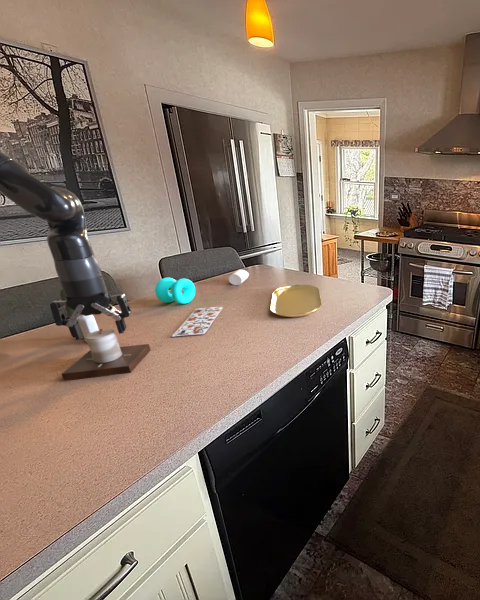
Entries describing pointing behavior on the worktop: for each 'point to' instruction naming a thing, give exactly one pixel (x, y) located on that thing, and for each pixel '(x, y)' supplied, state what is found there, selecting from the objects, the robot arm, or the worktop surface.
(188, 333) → the paper towel
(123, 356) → the holder
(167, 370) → the worktop surface
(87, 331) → the eye dropper bottle
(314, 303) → the serving platter
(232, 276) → the roll
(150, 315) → the worktop surface
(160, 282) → the donuts
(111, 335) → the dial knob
